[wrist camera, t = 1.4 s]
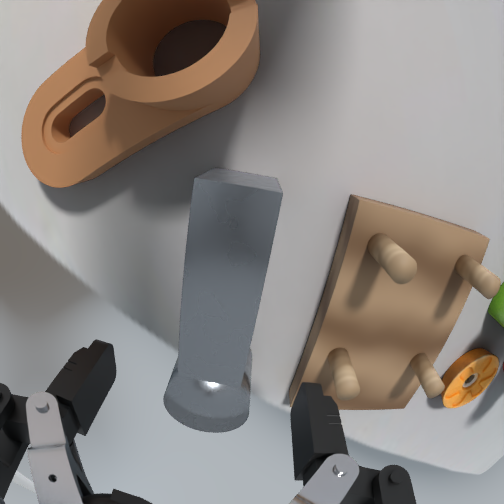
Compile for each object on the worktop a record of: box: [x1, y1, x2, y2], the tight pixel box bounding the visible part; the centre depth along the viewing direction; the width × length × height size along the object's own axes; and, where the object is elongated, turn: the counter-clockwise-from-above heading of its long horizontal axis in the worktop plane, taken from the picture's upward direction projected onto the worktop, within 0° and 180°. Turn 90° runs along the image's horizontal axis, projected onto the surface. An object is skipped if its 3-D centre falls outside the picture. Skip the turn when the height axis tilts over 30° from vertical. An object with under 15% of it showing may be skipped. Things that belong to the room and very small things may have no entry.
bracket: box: [22, 0, 260, 188], centre depth 14 cm, size 18×8×7 cm, turn 114°
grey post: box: [164, 167, 283, 432], centre depth 19 cm, size 18×6×6 cm, turn 170°
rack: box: [289, 194, 501, 410], centre depth 19 cm, size 18×12×6 cm, turn 170°
